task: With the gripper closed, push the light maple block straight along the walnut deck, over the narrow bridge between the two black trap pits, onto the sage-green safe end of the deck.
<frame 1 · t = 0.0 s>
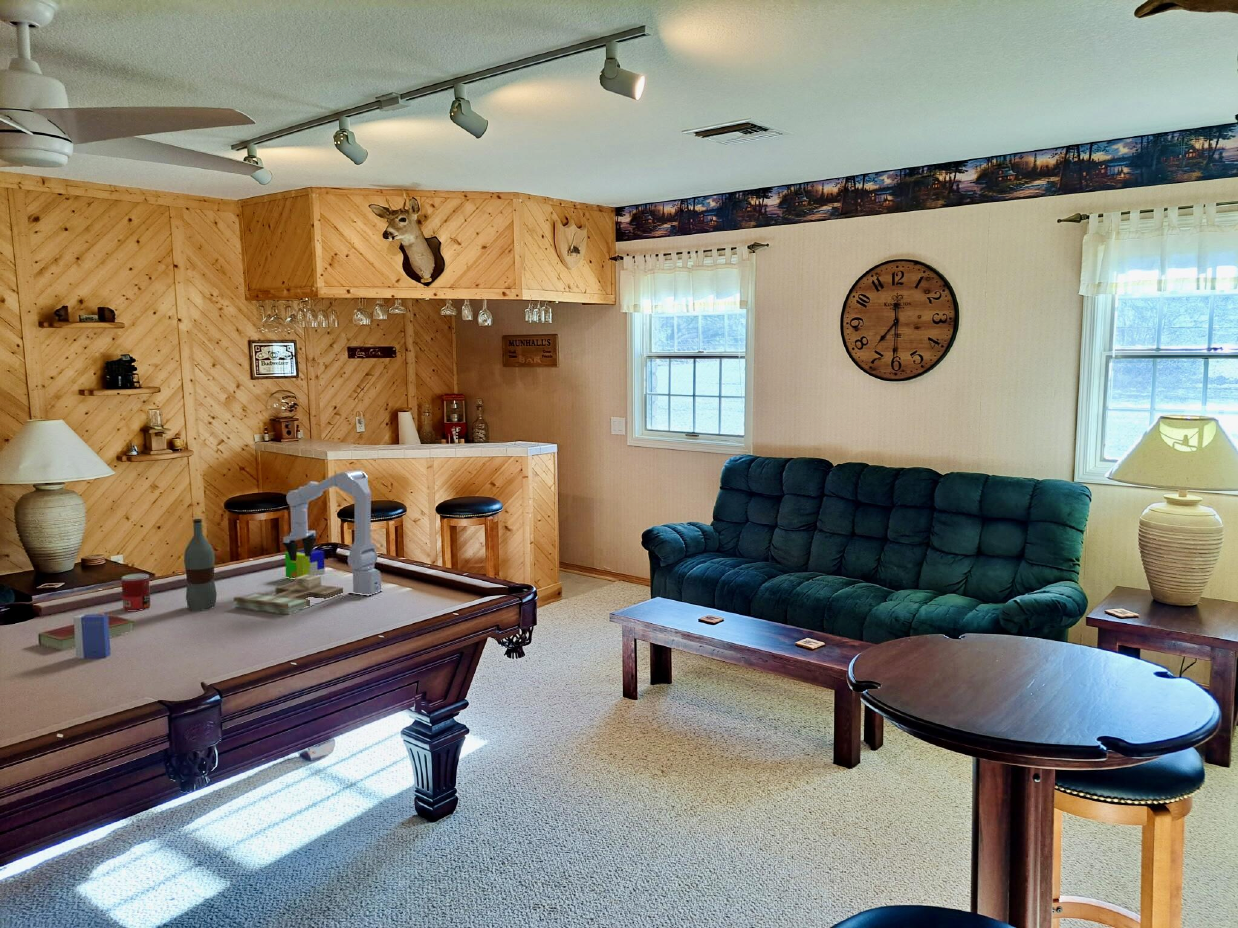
hand: (300, 558, 314), 10 cm above the table, tool pointing down, fingers open, 7 cm apart
canned food: (137, 608, 284), on the table
trap deck: (290, 601, 293), on the table
puzzle toy: (305, 577, 327), on the table
bottle: (202, 607, 285), on the table
hardcover book: (88, 639, 253), on the table
walkman: (93, 657, 236), on the table
maple block: (308, 587, 301), point 2 cm above the table, touching trap deck
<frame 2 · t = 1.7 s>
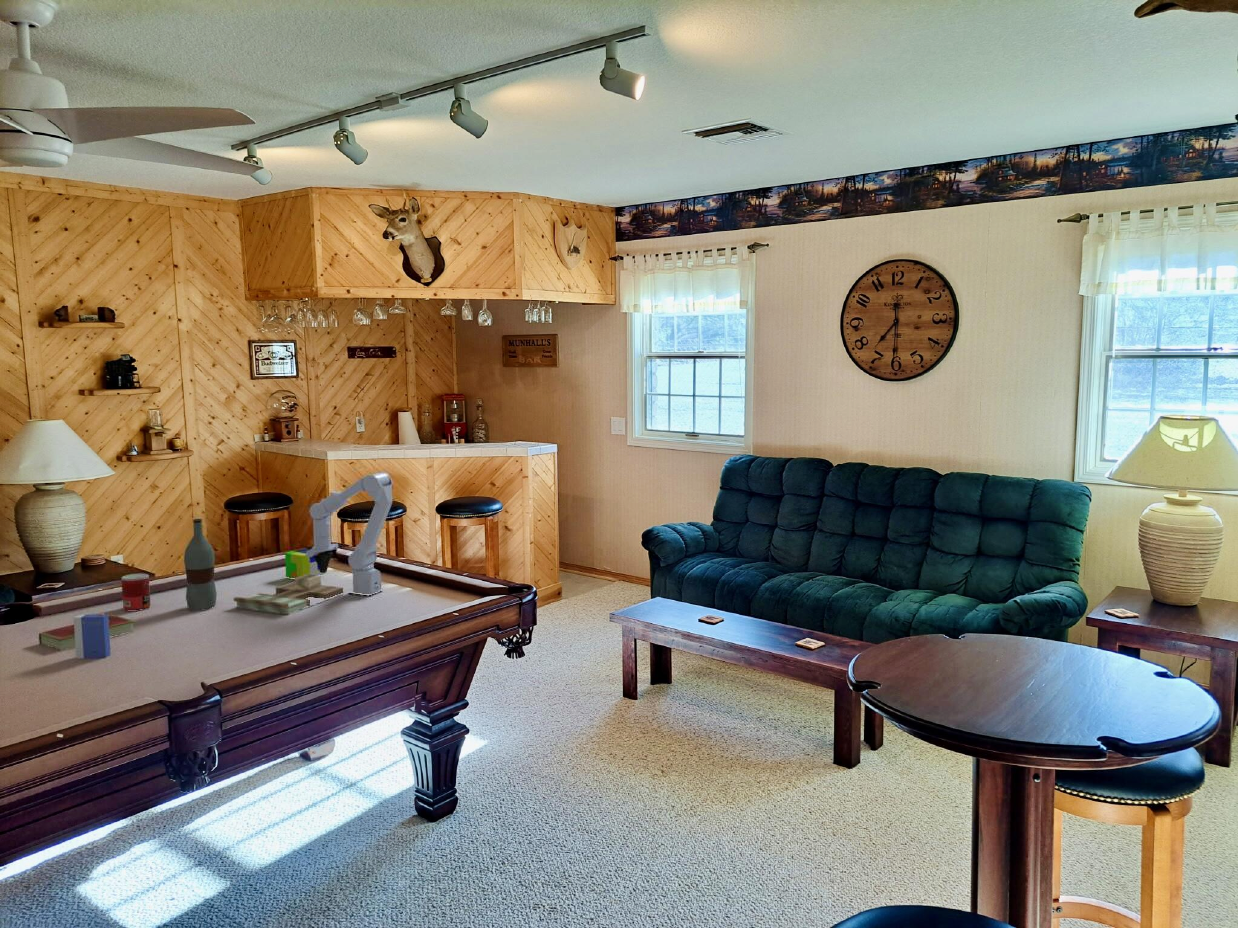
hand: (323, 572, 308), 6 cm above the table, tool pointing down, fingers closed
nothing on the table moved.
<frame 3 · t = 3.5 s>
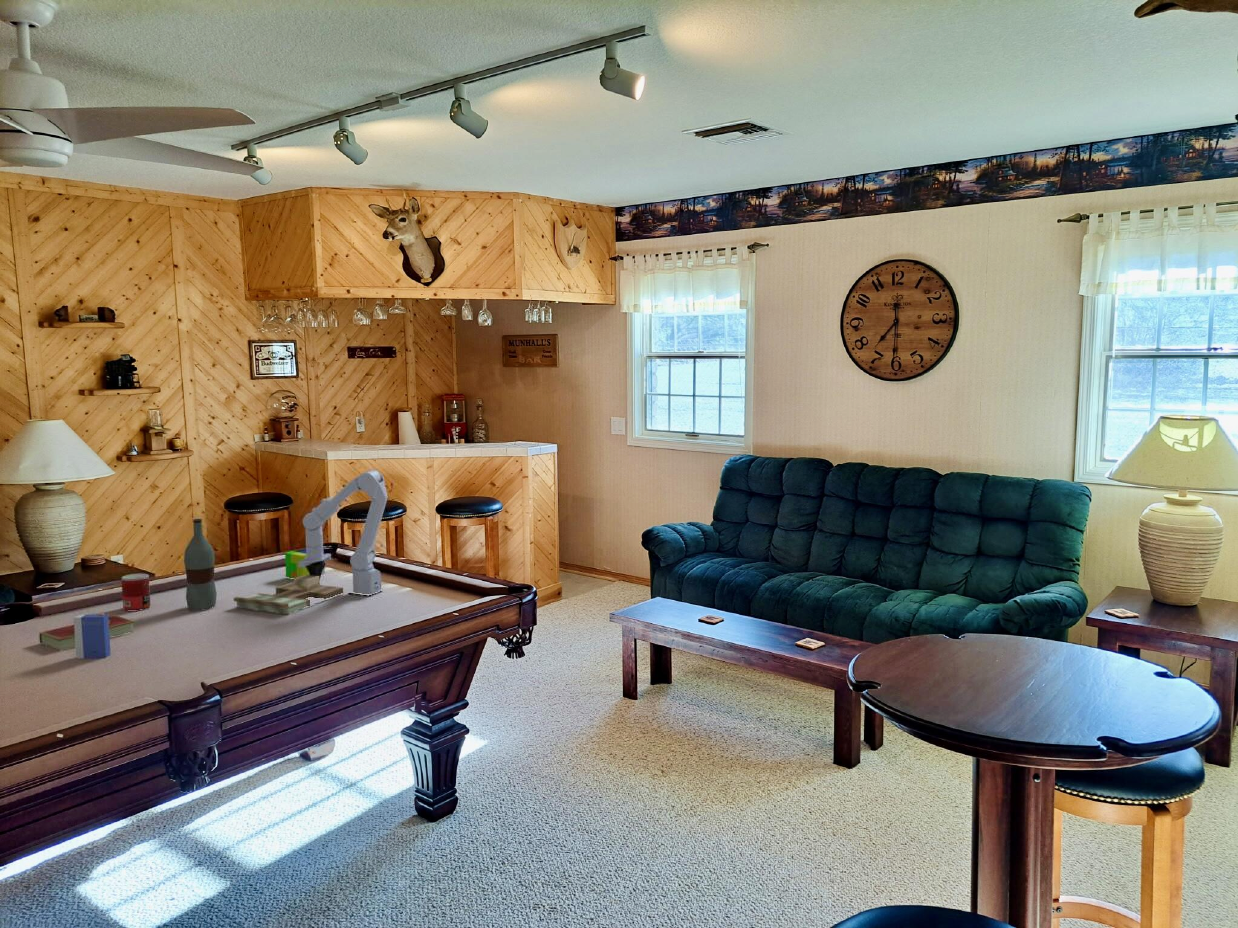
hand: (315, 582, 304), 3 cm above the table, tool pointing down, fingers closed
maple block: (307, 588, 300), point 3 cm above the table, touching gripper, trap deck
everything else where it was.
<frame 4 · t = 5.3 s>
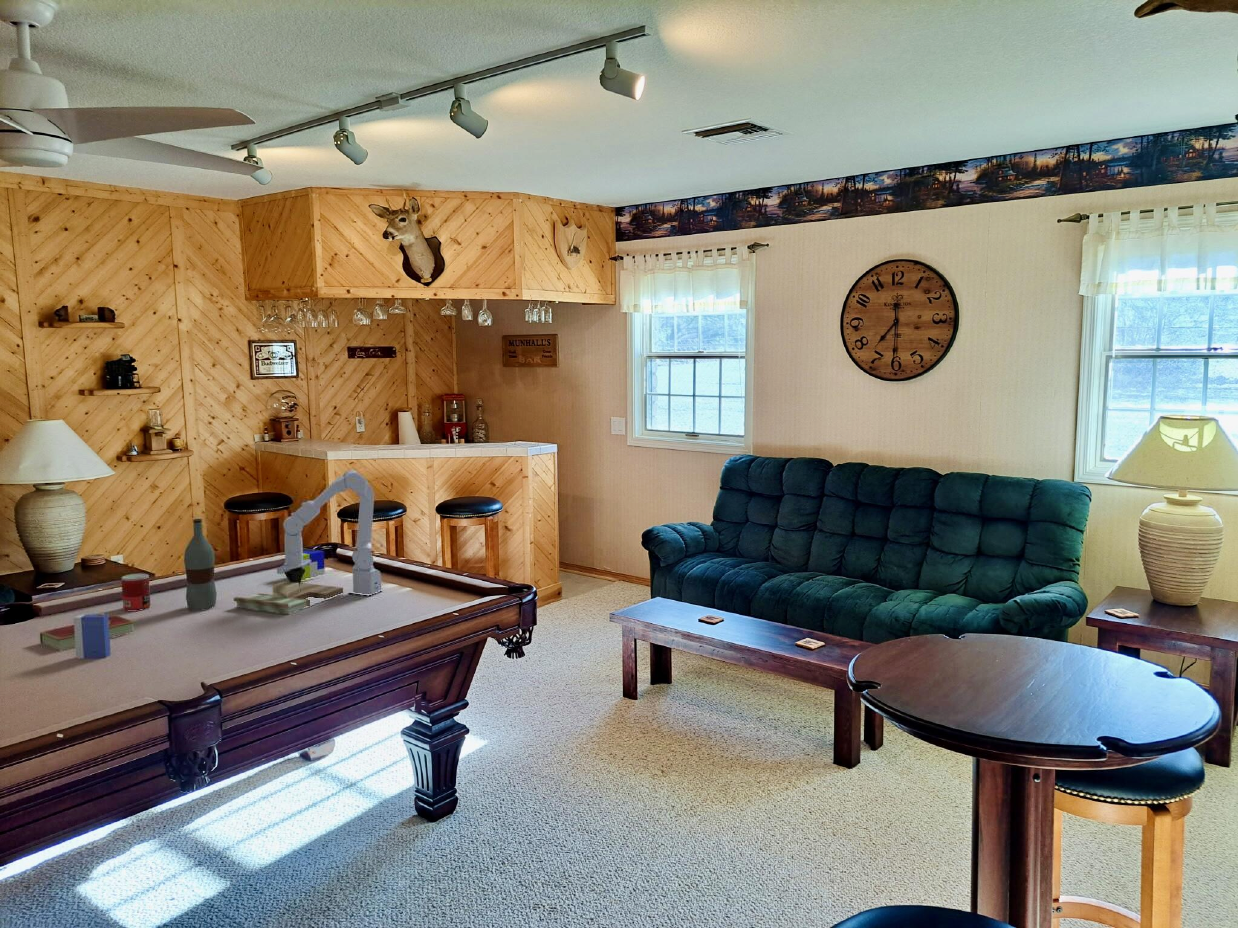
hand: (295, 589, 295), 3 cm above the table, tool pointing down, fingers closed
maple block: (286, 595, 291), point 3 cm above the table, touching gripper
everything else where it was.
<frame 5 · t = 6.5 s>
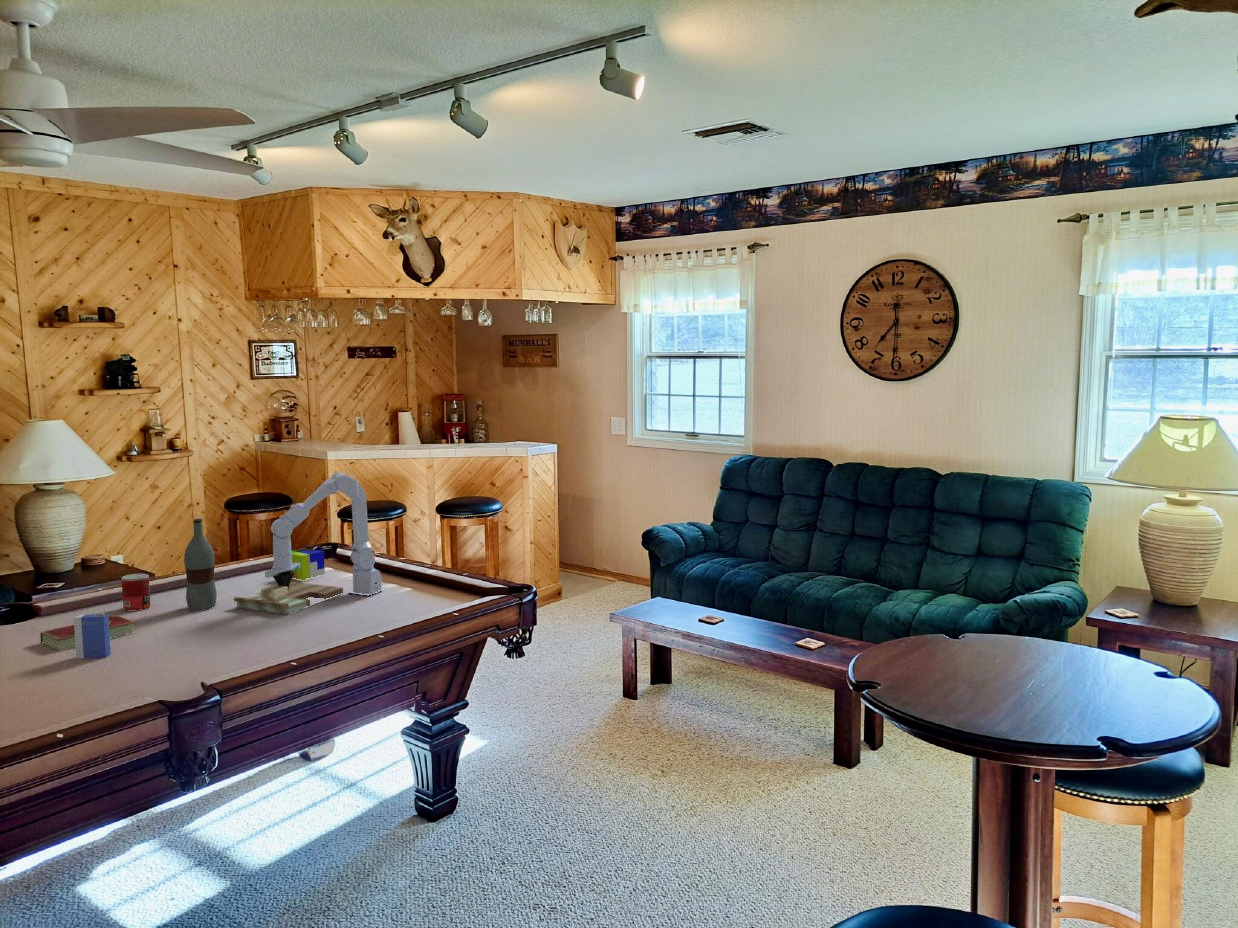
hand: (284, 593, 290), 3 cm above the table, tool pointing down, fingers closed
maple block: (274, 599, 286), point 2 cm above the table, touching gripper, trap deck
everything else where it was.
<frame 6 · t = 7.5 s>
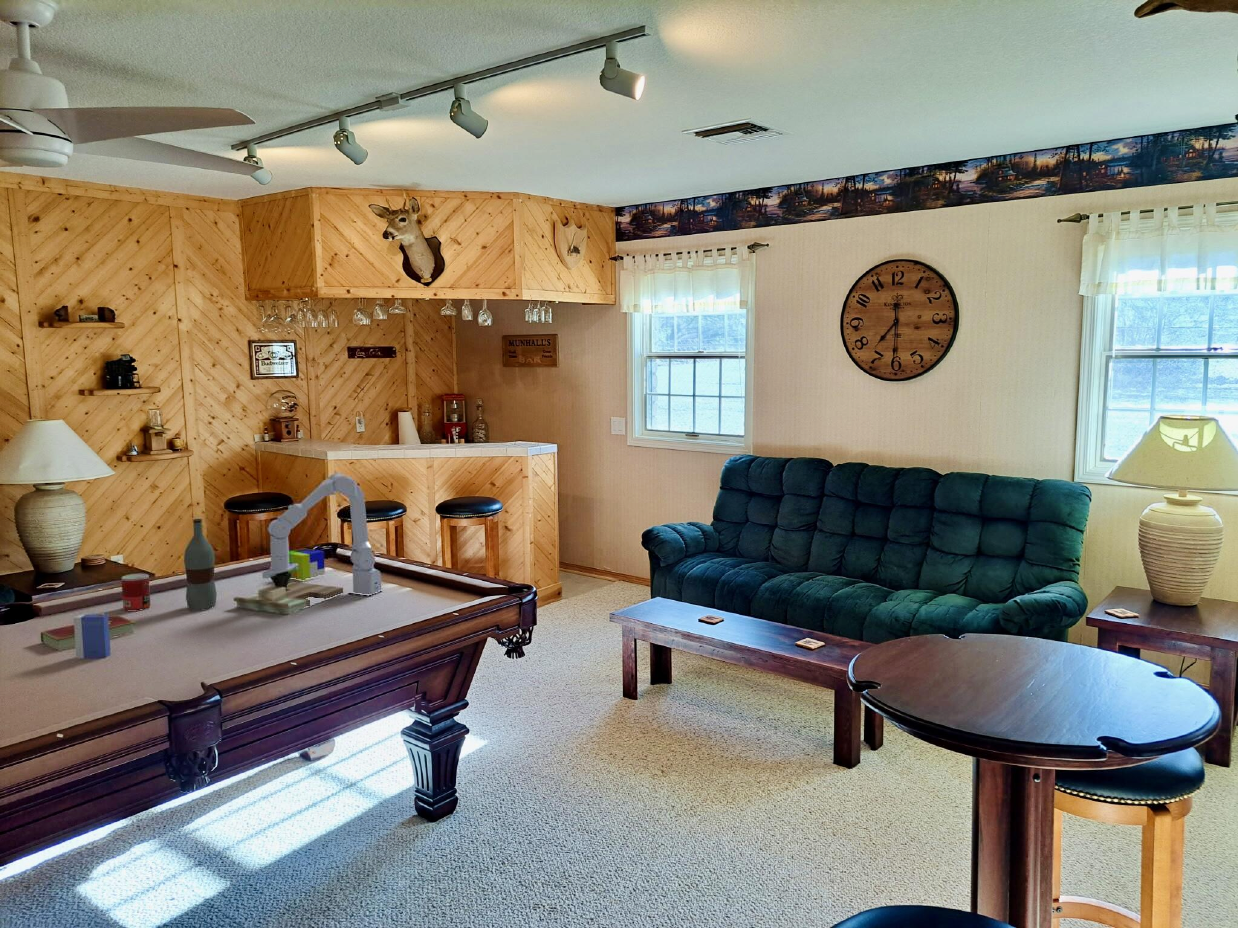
hand: (281, 594, 289), 3 cm above the table, tool pointing down, fingers closed
maple block: (272, 600, 285), point 2 cm above the table, touching gripper, trap deck
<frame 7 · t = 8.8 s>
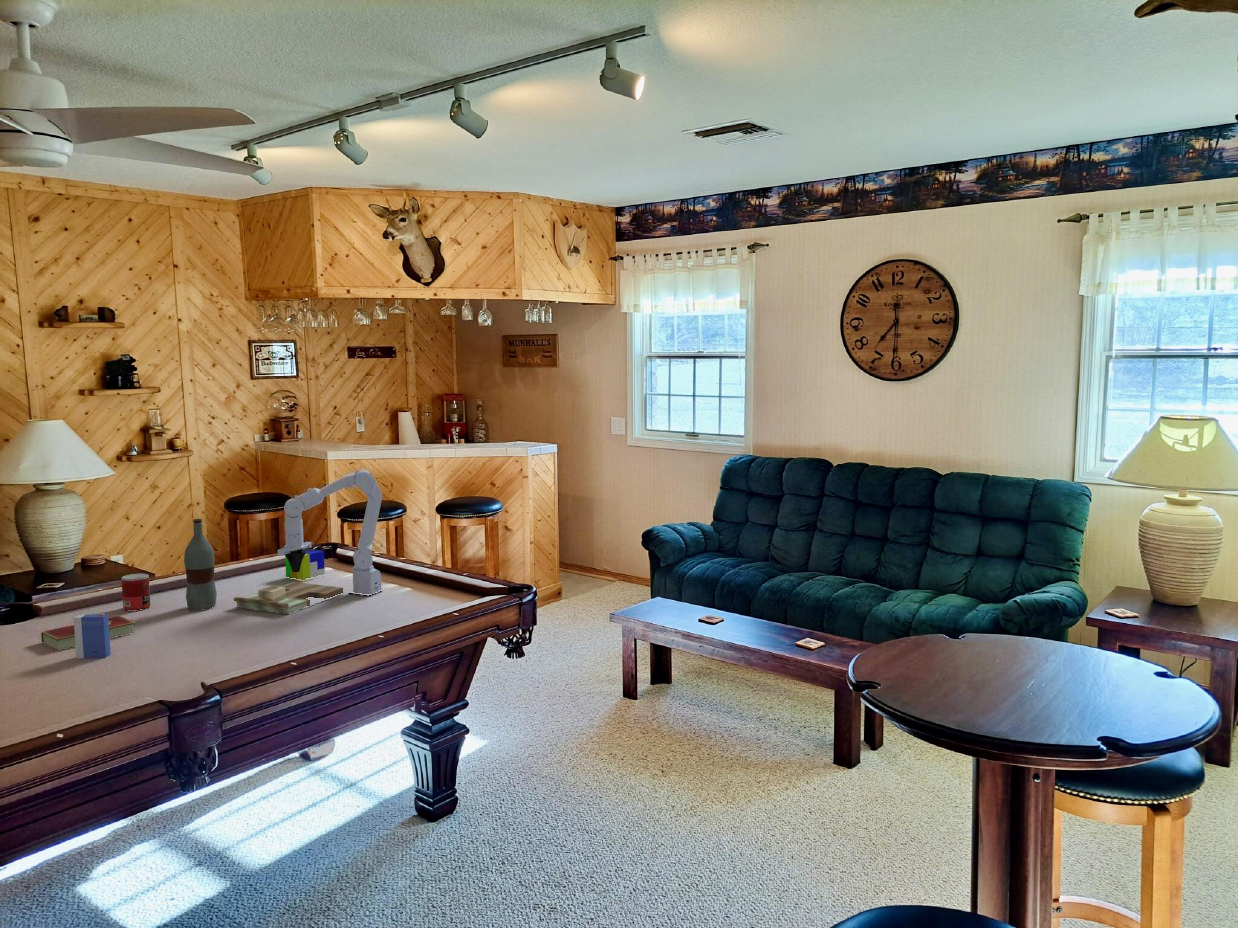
hand: (295, 571, 296), 9 cm above the table, tool pointing down, fingers closed
maple block: (272, 600, 285), point 2 cm above the table, touching trap deck
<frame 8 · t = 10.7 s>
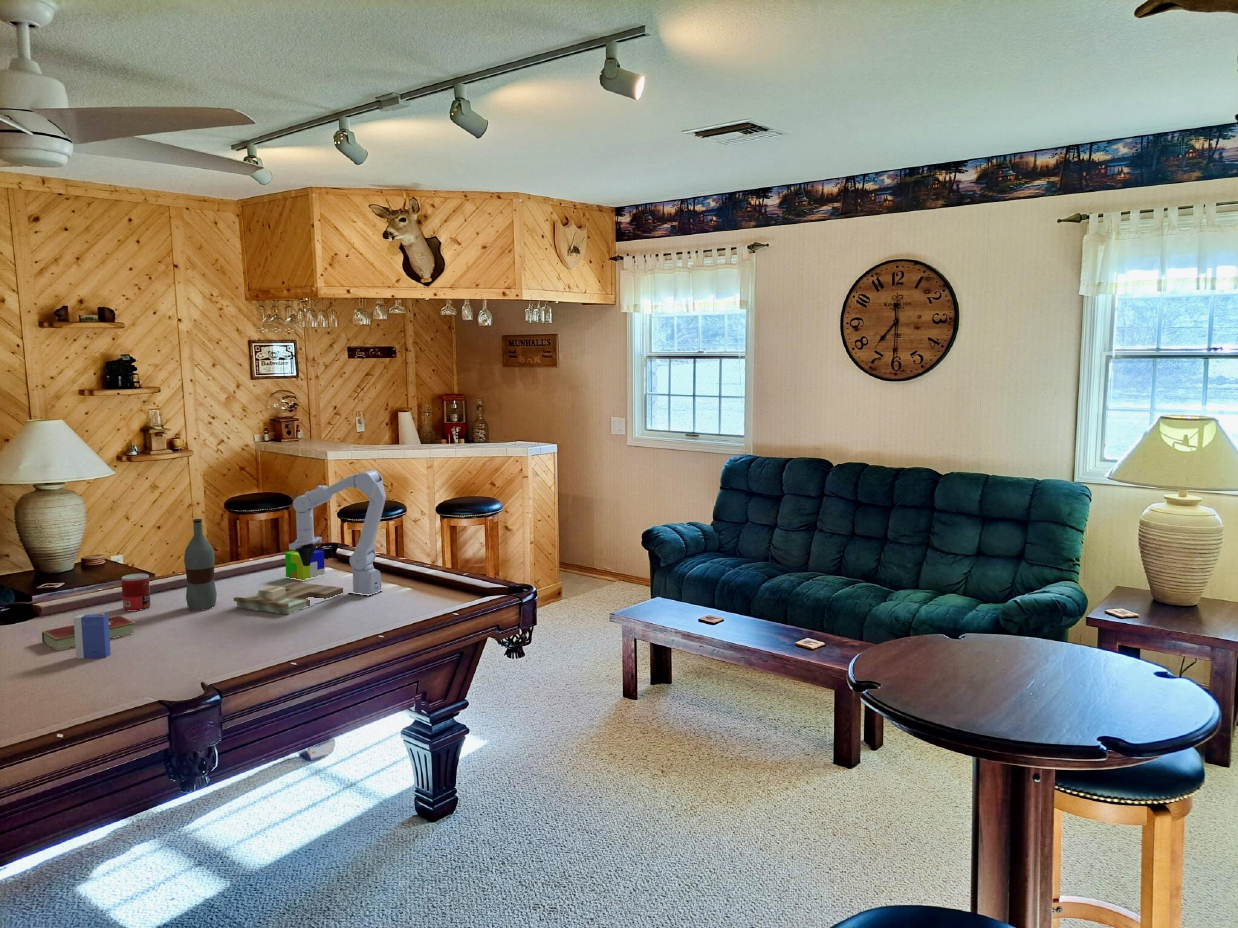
hand: (306, 565, 305), 9 cm above the table, tool pointing down, fingers closed
at the end: maple block inside the target area (0.3 cm from its centre), point 2.5 cm above the table; maple block tilted 0° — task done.
